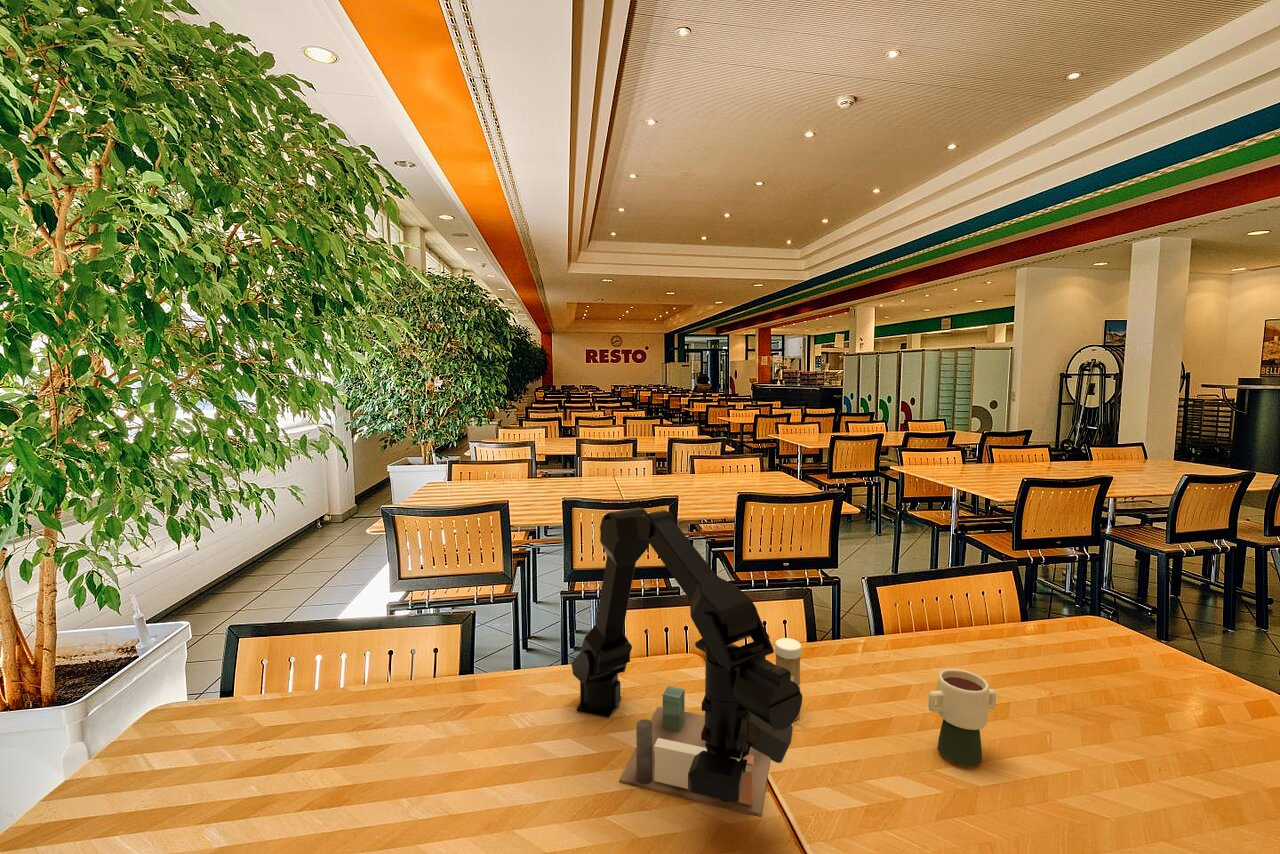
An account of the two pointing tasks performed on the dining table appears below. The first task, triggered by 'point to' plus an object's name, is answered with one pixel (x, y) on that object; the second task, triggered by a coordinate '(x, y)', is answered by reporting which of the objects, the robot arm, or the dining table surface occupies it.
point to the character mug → (961, 714)
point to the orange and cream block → (677, 762)
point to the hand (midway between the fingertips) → (725, 799)
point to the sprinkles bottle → (789, 658)
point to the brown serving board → (685, 729)
